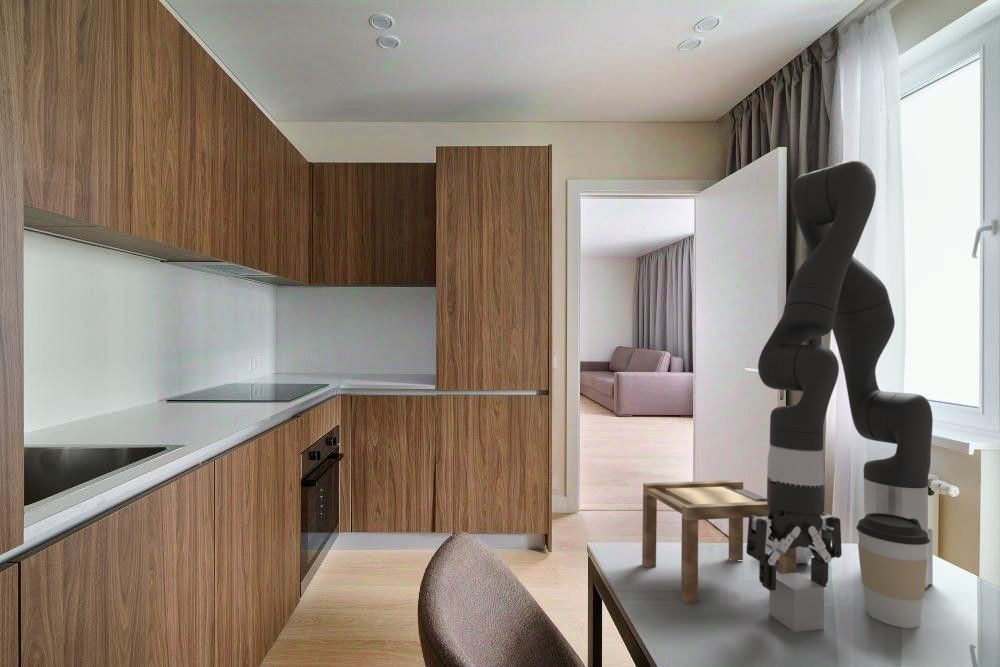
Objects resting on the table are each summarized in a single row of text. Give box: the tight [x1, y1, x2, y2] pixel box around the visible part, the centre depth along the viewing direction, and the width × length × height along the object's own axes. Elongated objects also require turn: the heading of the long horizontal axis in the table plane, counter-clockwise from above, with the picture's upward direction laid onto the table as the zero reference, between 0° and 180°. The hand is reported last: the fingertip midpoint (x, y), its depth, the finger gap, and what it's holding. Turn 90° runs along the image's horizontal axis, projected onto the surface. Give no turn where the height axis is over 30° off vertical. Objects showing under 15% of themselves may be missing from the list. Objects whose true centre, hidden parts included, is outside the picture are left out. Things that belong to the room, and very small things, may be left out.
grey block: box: [769, 572, 825, 633], centre depth 77 cm, size 5×5×6 cm
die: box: [766, 528, 813, 564], centre depth 100 cm, size 8×9×10 cm
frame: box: [641, 479, 797, 604], centre depth 91 cm, size 20×15×15 cm
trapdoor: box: [665, 486, 767, 505], centre depth 92 cm, size 15×11×3 cm
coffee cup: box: [855, 513, 930, 629], centre depth 80 cm, size 9×9×15 cm
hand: (793, 586), depth 77 cm, fingers open, 8 cm apart
